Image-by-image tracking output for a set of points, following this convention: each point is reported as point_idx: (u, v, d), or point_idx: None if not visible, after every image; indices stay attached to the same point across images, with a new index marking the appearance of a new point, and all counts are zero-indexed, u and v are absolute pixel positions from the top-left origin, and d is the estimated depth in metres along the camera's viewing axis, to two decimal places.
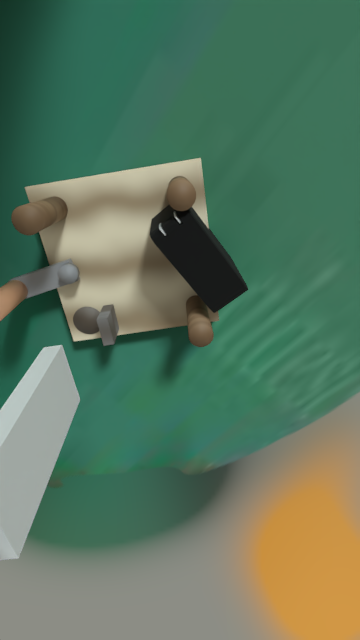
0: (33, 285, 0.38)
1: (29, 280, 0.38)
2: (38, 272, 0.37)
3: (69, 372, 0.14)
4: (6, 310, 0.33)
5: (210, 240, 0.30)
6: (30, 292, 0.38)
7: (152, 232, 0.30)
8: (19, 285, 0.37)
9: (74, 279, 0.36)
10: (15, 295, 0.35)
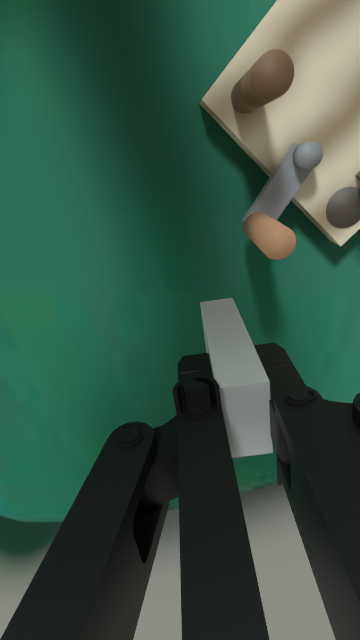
0: (271, 206, 0.30)
1: (264, 202, 0.29)
2: (270, 185, 0.29)
3: None
4: None
5: None
6: (272, 217, 0.30)
7: None
8: (262, 213, 0.29)
9: (321, 154, 0.27)
10: (273, 218, 0.27)
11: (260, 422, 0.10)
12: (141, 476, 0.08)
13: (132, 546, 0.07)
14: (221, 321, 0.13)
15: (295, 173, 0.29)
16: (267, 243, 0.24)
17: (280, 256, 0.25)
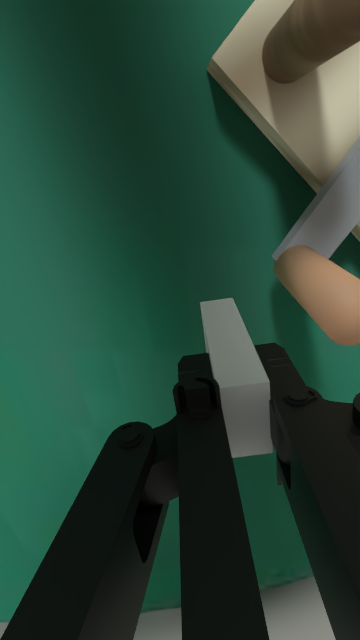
0: (322, 236, 0.18)
1: (310, 231, 0.18)
2: (322, 204, 0.18)
3: None
4: None
5: None
6: (322, 254, 0.19)
7: None
8: (308, 249, 0.18)
9: None
10: (332, 262, 0.16)
11: (260, 422, 0.10)
12: (141, 476, 0.08)
13: (132, 546, 0.07)
14: (221, 321, 0.13)
15: None
16: (334, 317, 0.13)
17: (356, 339, 0.13)
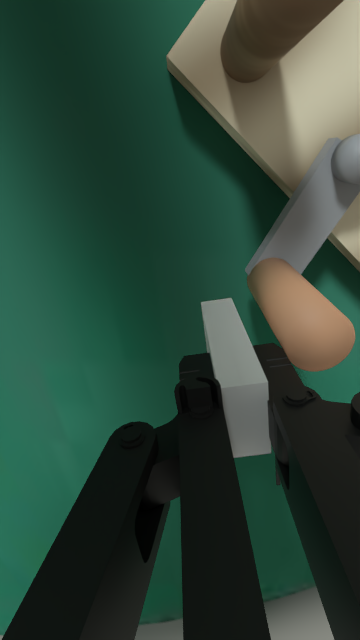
0: (295, 247, 0.17)
1: (282, 243, 0.17)
2: (292, 213, 0.17)
3: None
4: None
5: None
6: (296, 265, 0.18)
7: None
8: (279, 263, 0.17)
9: None
10: (301, 276, 0.15)
11: (259, 422, 0.10)
12: (143, 476, 0.08)
13: (133, 546, 0.07)
14: (220, 321, 0.13)
15: (336, 191, 0.16)
16: (296, 343, 0.12)
17: (322, 365, 0.12)
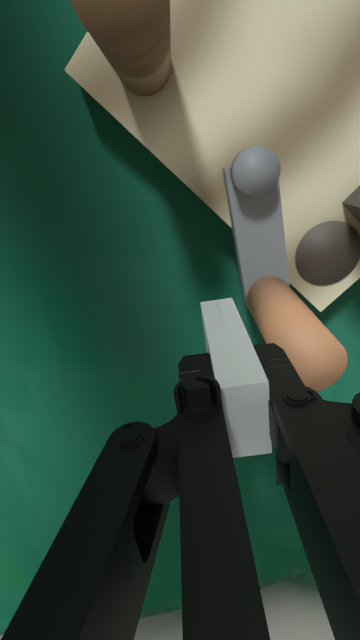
0: (265, 262, 0.18)
1: (252, 267, 0.18)
2: (240, 243, 0.17)
3: None
4: (312, 321, 0.13)
5: None
6: (279, 273, 0.18)
7: None
8: (260, 288, 0.17)
9: (271, 155, 0.15)
10: (279, 296, 0.16)
11: (259, 422, 0.10)
12: (142, 476, 0.08)
13: (133, 546, 0.07)
14: (220, 321, 0.13)
15: (259, 201, 0.17)
16: None
17: (333, 376, 0.13)
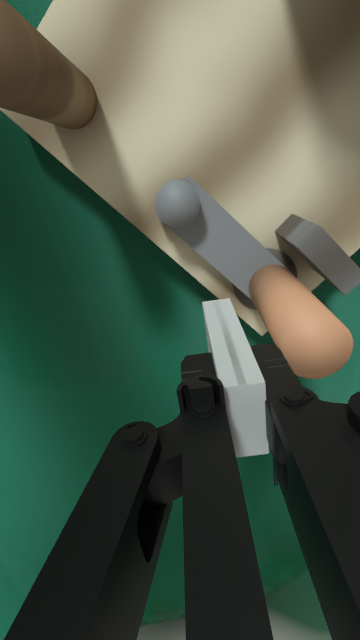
0: (245, 260, 0.17)
1: (238, 272, 0.18)
2: (212, 261, 0.17)
3: None
4: (296, 306, 0.13)
5: None
6: (265, 261, 0.17)
7: None
8: (253, 288, 0.17)
9: (178, 183, 0.15)
10: (267, 291, 0.15)
11: (256, 423, 0.10)
12: (145, 476, 0.08)
13: (136, 546, 0.07)
14: (218, 322, 0.13)
15: (202, 218, 0.17)
16: (310, 369, 0.12)
17: (346, 348, 0.12)
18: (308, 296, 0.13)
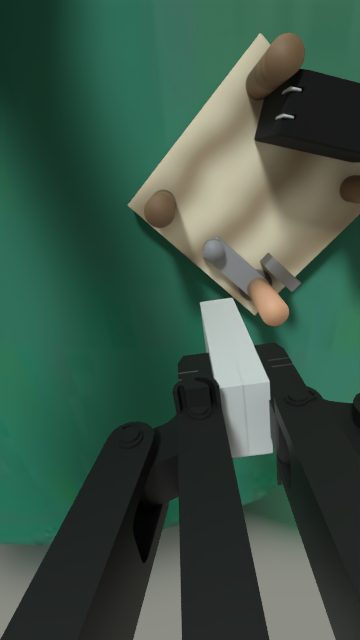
0: (245, 276, 0.35)
1: (241, 281, 0.36)
2: (229, 276, 0.35)
3: None
4: (267, 296, 0.31)
5: (346, 80, 0.24)
6: (255, 276, 0.35)
7: (276, 129, 0.25)
8: (249, 289, 0.35)
9: (214, 242, 0.33)
10: (255, 290, 0.33)
11: (260, 422, 0.10)
12: (141, 476, 0.08)
13: (132, 546, 0.07)
14: (221, 321, 0.13)
15: (224, 256, 0.35)
16: (272, 322, 0.30)
17: (286, 312, 0.30)
18: (272, 292, 0.31)
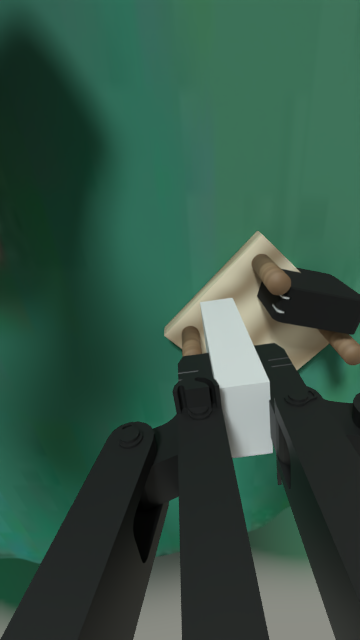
0: None
1: None
2: None
3: None
4: None
5: (318, 293, 0.36)
6: None
7: (272, 315, 0.38)
8: None
9: None
10: None
11: (260, 422, 0.10)
12: (141, 476, 0.08)
13: (132, 546, 0.07)
14: (221, 321, 0.13)
15: None
16: None
17: None
18: None
